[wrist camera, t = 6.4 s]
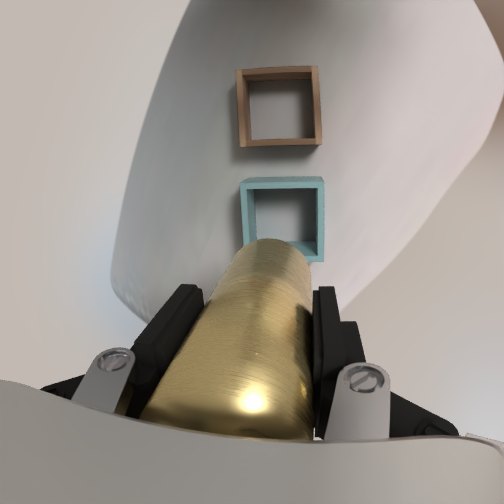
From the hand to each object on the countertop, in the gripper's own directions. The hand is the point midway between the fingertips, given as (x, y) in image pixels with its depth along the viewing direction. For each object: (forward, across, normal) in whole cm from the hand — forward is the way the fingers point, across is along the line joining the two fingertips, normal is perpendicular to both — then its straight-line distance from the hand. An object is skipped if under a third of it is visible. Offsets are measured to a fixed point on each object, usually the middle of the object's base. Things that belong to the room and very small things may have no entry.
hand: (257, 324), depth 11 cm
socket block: (+19, 0, -10) cm, 21 cm away
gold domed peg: (+4, 0, 0) cm, 4 cm away
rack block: (+19, 0, 0) cm, 19 cm away
